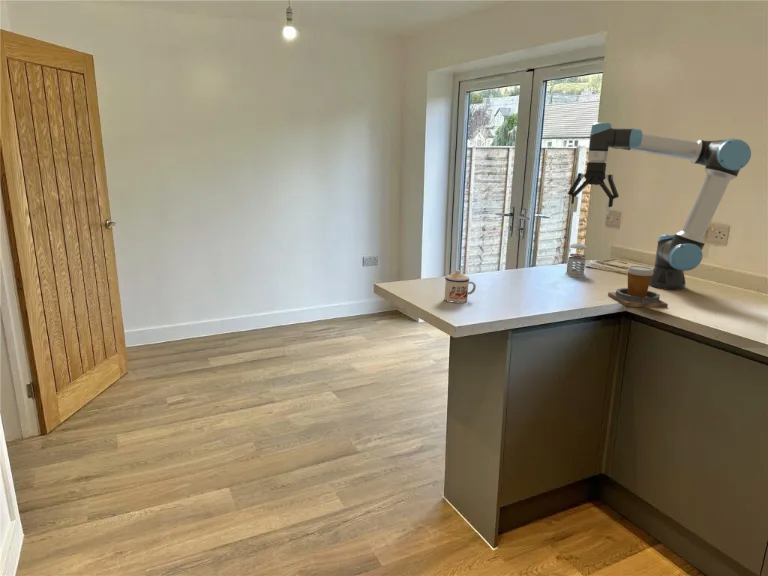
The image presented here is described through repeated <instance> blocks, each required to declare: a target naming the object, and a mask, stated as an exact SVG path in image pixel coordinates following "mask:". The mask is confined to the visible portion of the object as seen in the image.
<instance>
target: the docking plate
mask: <svg viewBox="0 0 768 576" xmlns="http://www.w3.org/2000/svg"><path fill="white" fill-rule="evenodd" d="M607 296H608V297H609V298H611V299H613V300H614V301H615V302H617V301H618V302H617V303H619V304H621V305H623V306H624V307H626V308H627V307H629V308H631V307H632V308H634V307H635V308H665V309H666V308H667V309H668V305H669V304H668V303H667V302H665V301H663V300H661V299H660V298H661V297H660V296H661V295H660V294H659V293H657V292H655V291H652V290H648V291H647V294H646V297H637V296H631V295H628V287H622V288H621V287H620V288H617V289H616V290H615V292H608V294H607Z"/></svg>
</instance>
